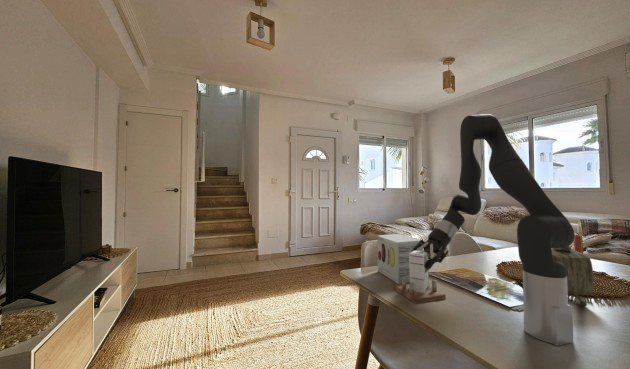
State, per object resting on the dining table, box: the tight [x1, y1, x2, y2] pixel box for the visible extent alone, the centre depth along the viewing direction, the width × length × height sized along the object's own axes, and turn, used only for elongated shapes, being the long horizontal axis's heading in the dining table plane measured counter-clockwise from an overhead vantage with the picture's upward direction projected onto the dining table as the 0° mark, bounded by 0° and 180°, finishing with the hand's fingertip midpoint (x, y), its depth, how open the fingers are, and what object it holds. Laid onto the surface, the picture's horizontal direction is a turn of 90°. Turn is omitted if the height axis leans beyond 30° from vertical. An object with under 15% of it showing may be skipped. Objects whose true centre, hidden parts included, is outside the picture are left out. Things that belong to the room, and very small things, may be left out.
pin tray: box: [394, 278, 447, 304], centre depth 98 cm, size 13×13×6 cm
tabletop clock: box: [551, 245, 594, 307], centre depth 93 cm, size 14×9×25 cm, turn 168°
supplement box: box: [376, 233, 421, 285], centre depth 119 cm, size 17×13×18 cm
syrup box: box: [409, 251, 430, 293], centre depth 99 cm, size 6×6×14 cm
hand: (418, 264), depth 98 cm, fingers open, 8 cm apart
